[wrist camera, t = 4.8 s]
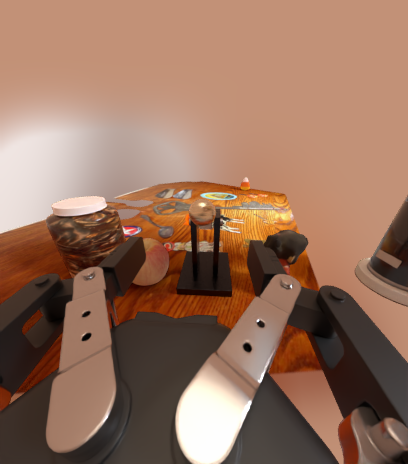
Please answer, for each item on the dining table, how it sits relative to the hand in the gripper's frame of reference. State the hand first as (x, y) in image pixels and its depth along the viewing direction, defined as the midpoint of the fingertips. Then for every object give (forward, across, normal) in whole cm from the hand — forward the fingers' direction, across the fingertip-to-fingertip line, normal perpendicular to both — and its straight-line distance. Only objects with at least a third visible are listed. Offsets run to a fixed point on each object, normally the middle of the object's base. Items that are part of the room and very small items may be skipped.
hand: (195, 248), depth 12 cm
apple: (+15, +12, +17) cm, 26 cm away
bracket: (+17, 0, +17) cm, 24 cm away
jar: (+18, +24, +17) cm, 35 cm away
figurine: (+13, -13, +17) cm, 26 cm away
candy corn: (+98, -21, +18) cm, 102 cm away
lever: (+12, 0, +4) cm, 12 cm away
